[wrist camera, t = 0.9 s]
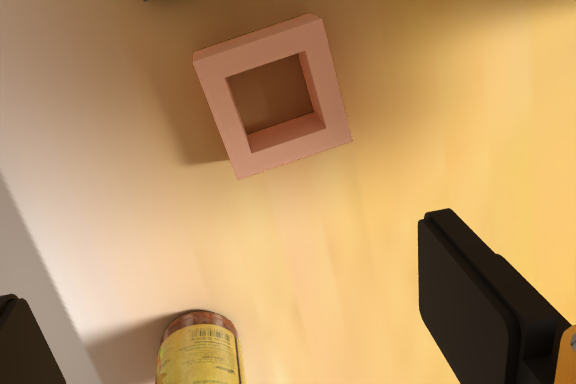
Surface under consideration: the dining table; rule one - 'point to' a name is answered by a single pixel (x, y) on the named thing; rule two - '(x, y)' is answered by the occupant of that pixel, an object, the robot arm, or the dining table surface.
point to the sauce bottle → (200, 351)
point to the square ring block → (289, 135)
